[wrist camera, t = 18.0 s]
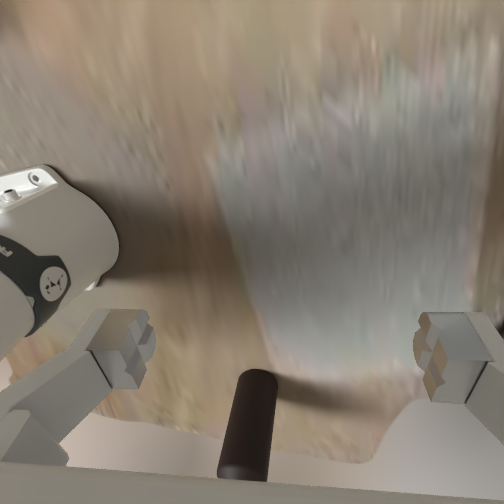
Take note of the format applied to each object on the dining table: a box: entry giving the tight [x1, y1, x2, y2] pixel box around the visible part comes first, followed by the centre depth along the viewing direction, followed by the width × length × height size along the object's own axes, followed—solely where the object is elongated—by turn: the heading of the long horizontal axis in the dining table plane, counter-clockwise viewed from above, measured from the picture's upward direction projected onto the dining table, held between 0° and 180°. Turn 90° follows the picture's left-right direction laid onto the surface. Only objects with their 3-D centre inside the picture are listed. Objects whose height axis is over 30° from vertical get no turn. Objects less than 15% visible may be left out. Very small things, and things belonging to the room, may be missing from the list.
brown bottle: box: [217, 370, 278, 482], centre depth 47 cm, size 7×7×20 cm
